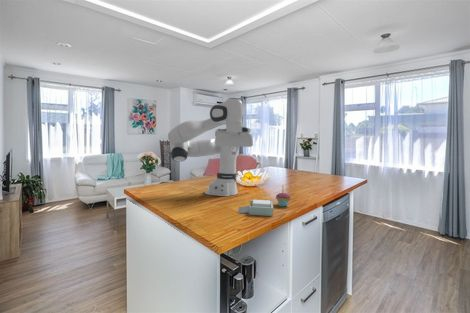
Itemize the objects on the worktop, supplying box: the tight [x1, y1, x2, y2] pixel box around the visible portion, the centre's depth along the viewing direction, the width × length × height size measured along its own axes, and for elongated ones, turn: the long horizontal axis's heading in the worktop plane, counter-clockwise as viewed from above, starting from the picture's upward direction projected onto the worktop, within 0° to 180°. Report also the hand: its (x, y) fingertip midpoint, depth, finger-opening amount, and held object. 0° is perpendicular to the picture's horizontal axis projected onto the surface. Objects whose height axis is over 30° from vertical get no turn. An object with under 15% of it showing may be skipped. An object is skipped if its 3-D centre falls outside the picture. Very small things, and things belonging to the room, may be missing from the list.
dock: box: [237, 199, 274, 217], centre depth 126 cm, size 18×13×5 cm
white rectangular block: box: [252, 199, 271, 207], centre depth 125 cm, size 9×7×4 cm
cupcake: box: [275, 184, 292, 207], centre depth 137 cm, size 9×8×12 cm
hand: (233, 154), depth 128 cm, fingers closed
